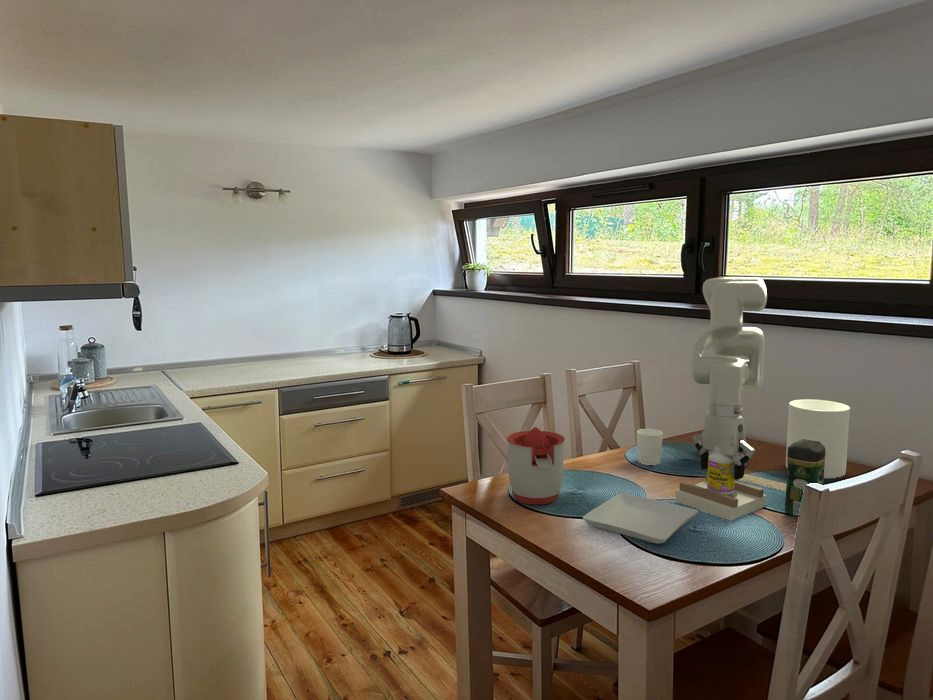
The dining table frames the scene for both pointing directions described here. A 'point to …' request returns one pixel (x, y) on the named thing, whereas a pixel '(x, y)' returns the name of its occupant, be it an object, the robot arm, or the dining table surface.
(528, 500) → the citrus juicer
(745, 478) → the wooden plank
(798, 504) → the coffee jar
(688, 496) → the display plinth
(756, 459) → the dining table surface
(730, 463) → the supplement bottle
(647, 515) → the salad plate
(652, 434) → the white cup
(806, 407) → the canister
